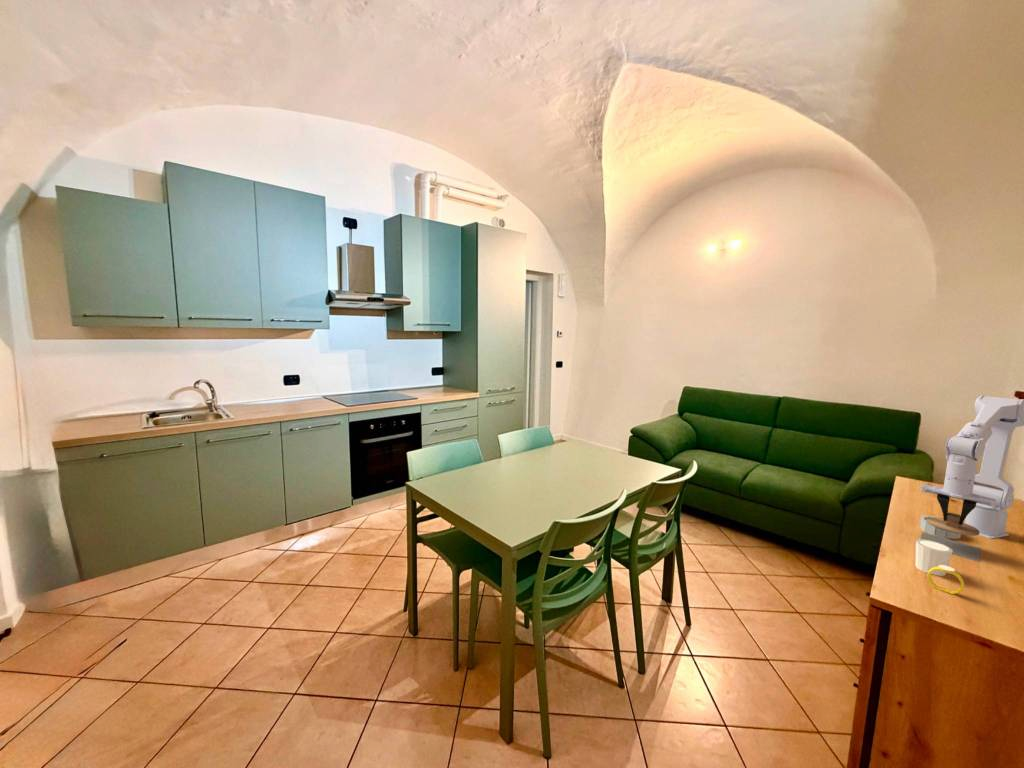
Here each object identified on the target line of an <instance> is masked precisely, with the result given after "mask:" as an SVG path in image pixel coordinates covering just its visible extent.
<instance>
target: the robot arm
mask: <svg viewBox="0 0 1024 768" xmlns="http://www.w3.org/2000/svg"><path fill="white" fill-rule="evenodd" d="M974 412H975V415H976V417H975V418H974V420H973V421H970V422H967V423H965V424H964V426H963V427H962V428H961V429H960V430H959V432H958V433H957V434H956V435H953V436H949V437H948V438H947V440H946V442H945V448H944V449H945V451H944V452H945V461H947V462H946V469H945V473H944V474H945V475H944V481H943V487H941V486H936V485H935V486H934V485H927V484H922V485H921V488H920V490H921V493H928V494H933V495H937V497H936V499H937V501H938V504H939V506H940V508H941V512H942V516H943V517H942V518H944V520H943V521H947V516H948V512H949V504H950V499H951V498H952V499H957V500H961V501H962V508H961V512H960V520H959V525H962V524H963V523H965V524H968V525H970V526H973V527H975V528H976V529H978V530H979V531H980V532H979V535H978V536H980V537H984V538H987V539H990V540H991V539H996V538H1003V537H1008V536H1010V534H1009V533H1006V531H1007V530H1006V529H1007V523H1008V517H1009V516H1008V512H1007V510H1009V509H1011V507H1012V506H1013V503H1014V499H1015V498H1014V497H1015V493H1014V492H1015V488H1014V485H1012V484H1011V483H1010V482H1008V480H1006V479H1005V478H1003V476H1004V472H1005V467H1006V462H1007V458H1008V454H1009V450H1010V445H1011V442H1012V437H1013V433H1014V431H1015V430H1016V428H1019V427H1024V399H1023V398H1022V399H1019V398H1010V397H998V396H987V395H983V394H982V395H979V396H978V397H977V398H976V399H975V402H974ZM982 456H983V457H982ZM981 458H982V461H981V465H980V466H981V467H980V470H979V473H977V467H978V462H979V461H978V460H980V459H981Z"/></svg>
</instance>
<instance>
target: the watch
mask: <svg viewBox="0 0 1024 768" xmlns="http://www.w3.org/2000/svg"><path fill="white" fill-rule="evenodd" d="M935 570H941V571H943V572H946V574H951V575H954V576H955V577H956V578H958V580H959V583H960V587H959V588H958V589H955V590H954V589H953V590H951V589H948V588H945V587H942V586H938V585H937V584H936V583H934V581H933V579H932V578H931V575H932V574H931V572H933V571H935ZM927 581H928V583H929V584H930V585H931V586H932V587H933V589H935V590H938V591H942V592H945V593H948V594H950V595H955V594H960V593H961V592H962V591H963V590H964V588H965V586H964V585H965V581H964V579H963V577H962V576H961V575H960V574H959V573H958V572H957V571H956V569H955V568H953V567H950V566H949V565H948V566H945V565H939V566H938V567H933V568H932V569H930V570H929V572H928V573H927Z"/></svg>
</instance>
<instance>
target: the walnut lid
mask: <svg viewBox="0 0 1024 768" xmlns="http://www.w3.org/2000/svg"><path fill="white" fill-rule="evenodd" d="M960 516H961V514H958V513H953V512H950V511H948V516H947V521H943V520H944V518H943V517H939V516H938V517H937V516H933V517H929V518H927V522H928V523H929V524H930V525H932V526H934V527H937V528H939V529H942V530H945V531H948V532H952V533H957V534H961V536H980V535H979V532H980V531H979V530H978V529H976V528H975V527H973V526H970V525H968V524H965V522H963V524H962V525H959V520H960Z"/></svg>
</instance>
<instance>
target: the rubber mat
mask: <svg viewBox="0 0 1024 768" xmlns="http://www.w3.org/2000/svg"><path fill="white" fill-rule="evenodd" d="M919 539H925V540H931V541H934V542H938V543H941V544H944V545H946V546H948V547H950V548H951V549H952V550H953V552H952V555H953V556H957V557H961V558H964V559H967V560H971V561H974V562H978V563H980V561H981V547H979V546H975V545H971V544H967V543H963V542H960V541H957V540H954V539H950V538H944V537H940V536H936V535H933V534H930V533H927V532H922V533H921V535H920V538H919Z"/></svg>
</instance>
